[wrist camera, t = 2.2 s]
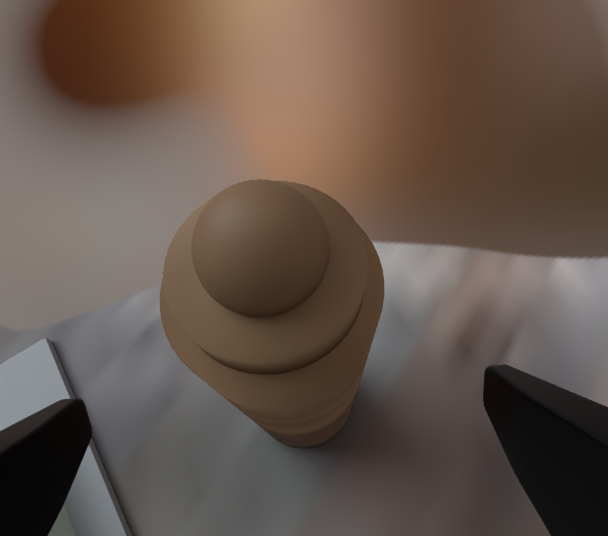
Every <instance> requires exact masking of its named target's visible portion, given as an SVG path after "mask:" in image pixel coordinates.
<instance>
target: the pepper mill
mask: <svg viewBox="0 0 608 536" xmlns="http://www.w3.org/2000/svg"><path fill="white" fill-rule="evenodd" d="M383 300H384V277H383V270H382V266H381V263H380V260H379V256H378V254H377V252H376V250H375V248H374V245H373V244H372V242H371V241H370V239H369V238H368V236H367V234H366V233H365V232H364V231H363V230H362V229H361V227H360V226H359V225H358V224H357V223H356V222H355V220H354V219H353V217H352V216H351V215H350V214H349V213H348V212H347V210H346V209H345V208H344V207H342V206H341V205H340V204H339V203H338V202H337V201H336V200H334V199H332V198H331V197H330V196H328V195H327V194H325V193H323V192H321V191H319V190H317V189H314V188H311V187H309V186H306V185H302V184H298V183H293V182H287V181H271V180H249V181H244V182H241V183H237V184H235V185H233V186H230V187H228V188H226V189H224V190H223V191H221V192H220V193H219V194H217V195H216V196H215V197H213V198H211V199H210V200H208V201H206V202H205V203H204V204H203V205H201V206H200V207H199V208H197V209H196V210H195V211H194V212H193V213H192V214H191V215H190V216H189V217H188V218H187V219H186V220H185V222H184V223H183V224H182V225H181V227H180V228H179V230H178V231H177V233H176V234H175V236H174V238H173V240H172V242H171V244H170V247H169V249H168V252H167V256H166V259H165V264H164V270H163V279H162V284H161V291H160V312H161V320H162V324H163V327H164V331H165V334H166V336H167V338H168V340H169V342H170V345H171V347H172V348H173V350H174V351H175V353H176V354H177V356H178V357H179V359H180V360H181V361H182V362H183V363H184V364H185V365H186V366H187V367H188V368H189V369H190V370H191V371H192V372H193V373H195V374H196V375H197V376H198V377H200V378H201V379H202V380H203V381H205V382H206V383H207V384H208V385H209V386H211V387H212V388H213V389H214V390H216V391H217V392H218V393H219V394H221V395H222V396H223V397H224V398H226V399H227V400H228V401H229V402H231V403H232V404H233V405H234V406H235V407H237V408H238V409H239V410H240V411H242V412H243V413H244V414H245V415H247V416H248V417H249V418H250V419H252V420H253V421H254V422H255V423H256V424H258V425H259V426H260V427H261V428H263V429H264V430H265V431H266V432H268V433H269V434H270V435H271V436H273V437H274V438H275V439H276V440H278V441H280V442H281V443H283V444H286V445H288V446H292V447H297V448H310V447H315V446H318V445H321V444H323V443H325V442H327V441H329V440H330V439H332V438H333V437H334V436H336V435H337V434H338V433H339V432H340V430H341V429H342V428H343V427H344V425H345V423H346V422H347V420H348V417H349V415H350V412H351V409H352V405H353V402H354V399H355V396H356V392H357V389H358V386H359V383H360V380H361V376H362V373H363V370H364V367H365V363H366V360H367V357H368V354H369V351H370V347H371V344H372V341H373V338H374V334H375V331H376V328H377V325H378V321H379V318H380V315H381V311H382V307H383Z"/></svg>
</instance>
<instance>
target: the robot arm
mask: <svg viewBox="0 0 608 536" xmlns="http://www.w3.org/2000/svg"><path fill="white" fill-rule="evenodd" d="M483 402H484V407H485V410H486V412H487V414H488V416H489V418H490V421H491V423H492V425H493V427H494V429H495V432H496V434H497V436H498V438H499V440H500V443H501V445H502V447H503V449H504V451H505V454H506V456H507V458H508V460H509V462H510V464H511V467H512V469H513V471H514V473H515V475H516V476H517V478H518V480H519V482H520V484H521V485H522V487H523V489H524V490H525V492H526V494H527V495H528V497H529V499H530V501H531V502H532V504H533V506H534V507H535V509H536V511H537V512H538V514H539V516H540V518H541V519H542V521H543V523H544V524H545V526H546V528H547V530H548V531H549V533H550V535H551V536H608V407H606V406H604V405H601V404H599V403H596V402H594V401H592V400H589V399H587V398H585V397H582V396H580V395H577V394H575V393H573V392H570V391H568V390H566V389H563V388H561V387H558V386H556V385H554V384H551V383H549V382H547V381H544V380H542V379H539V378H537V377H535V376H532V375H530V374H527V373H525V372H523V371H520V370H518V369H516V368H513V367H511V366H508V365H504V364H502V365H490V366H488V367H487V368H486V369H485V373H484V391H483ZM91 437H92V427H91V424H90V420H89V417H88V413H87V410H86V406H85V403H84V401H83V400H82V399H80V398H70V399H62V400H59V401H57V402H55V403H53V404H51V405H49V406H47V407H45V408H44V409H42V410H40V411H38V412H36V413H34V414H32V415H30V416H28V417H26V418H24V419H22V420H20V421H18V422H16V423H15V424H13V425H11V426H9V427H7V428H5V429H3V430H1V431H0V536H48V535H49V533H50V531H51V529H52V527H53V525H54V523H55V521H56V519H57V517H58V515H59V513H60V511H61V509H62V507H63V505H64V503H65V501H66V498H67V496H68V494H69V491H70V489H71V487H72V484H73V482H74V479H75V477H76V475H77V472H78V470H79V467H80V465H81V462H82V460H83V458H84V455H85V453H86V450H87V448H88V446H89V443H90V440H91Z"/></svg>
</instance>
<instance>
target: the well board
mask: <svg viewBox="0 0 608 536" xmlns="http://www.w3.org/2000/svg"><path fill="white" fill-rule="evenodd" d="M70 398H75V396H74V394H73V392H72V389H71V387H70V384H69V382H68V380H67V377H66V375H65V372H64V370H63V368H62V365H61V363H60V360H59V358H58V356H57V353H56V351H55V348H54V346H53V344H52V341H51V340H49V339H47V338H44V339H42V340H41V341H39V342H37V343H35V344H34V345H32V346H30V347H29V348H27V349H25V350H24V351H22V352H20V353H19V354H17V355H15V356H14V357H12V358H10V359H9V360H7V361H5V362H4V363H2V364H0V431H1V430H3V429H5V428H7V427H9V426H11V425H13V424H15V423H16V422H18V421H20V420H22V419H24V418H26V417H28V416H30V415H32V414H34V413H36V412H38V411H40V410H42V409H44V408H45V407H47V406H49V405H51V404H53V403H55V402H57V401H59V400H62V399H70ZM48 536H132V534H131V531H130V529H129V526H128V524H127V522H126V519H125V517H124V514H123V512H122V510H121V507H120V505H119V502H118V500H117V498H116V495H115V493H114V490H113V488H112V486H111V483H110V481H109V478H108V476H107V474H106V471H105V469H104V466H103V464H102V461H101V459H100V457H99V454H98V452H97V449H96V447H95V445H94V442H93V440H92V437H91V440H90V443H89V446H88V448H87V450H86V453H85V455H84V458H83V460H82V462H81V465H80V467H79V470H78V472H77V475H76V477H75V479H74V482H73V484H72V487H71V489H70V491H69V494H68V496H67V498H66V501H65V503H64V505H63V507H62V509H61V511H60V513H59V515H58V517H57V519H56V521H55V523H54V525H53V527H52V529H51V531H50V533H49V535H48Z"/></svg>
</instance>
